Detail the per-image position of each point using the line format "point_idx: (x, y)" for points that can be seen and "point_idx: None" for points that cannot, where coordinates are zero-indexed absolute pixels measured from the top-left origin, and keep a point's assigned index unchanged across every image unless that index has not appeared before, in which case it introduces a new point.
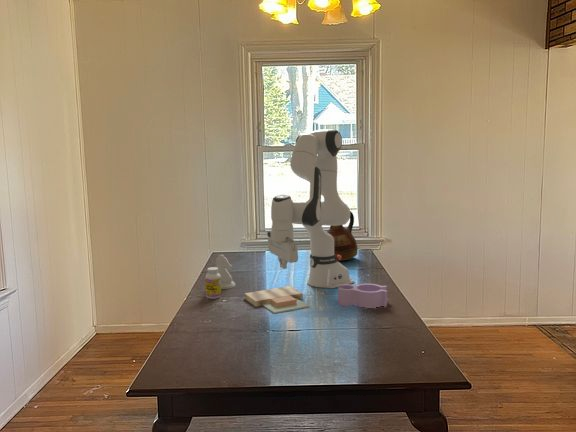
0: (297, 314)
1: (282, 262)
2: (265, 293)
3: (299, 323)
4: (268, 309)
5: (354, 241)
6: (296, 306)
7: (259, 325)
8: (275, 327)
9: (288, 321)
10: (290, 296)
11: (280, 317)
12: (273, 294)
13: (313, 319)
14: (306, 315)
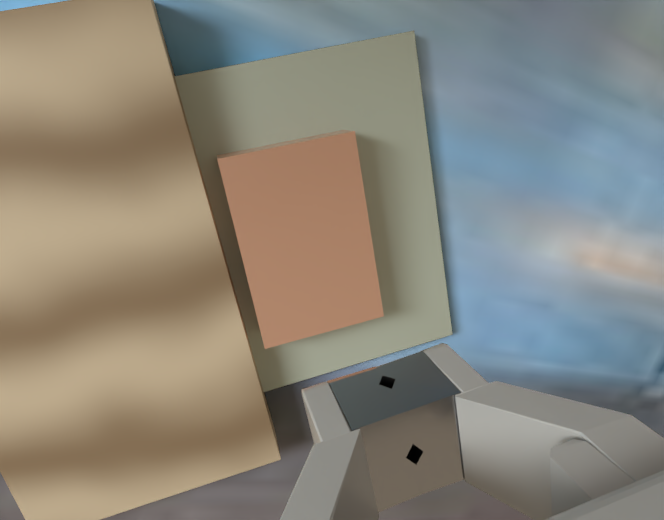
0: (516, 179)
1: (367, 481)
2: (79, 373)
3: (650, 209)
4: (363, 357)
5: None
6: (395, 147)
7: None
8: (638, 351)
9: (596, 266)
10: (248, 163)
11: (520, 301)
12: (128, 305)
13: (637, 98)
14: (557, 121)
